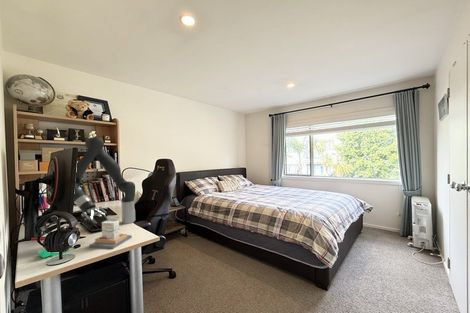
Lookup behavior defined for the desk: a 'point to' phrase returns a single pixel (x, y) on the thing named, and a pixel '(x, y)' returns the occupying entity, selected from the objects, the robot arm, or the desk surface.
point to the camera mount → (46, 253)
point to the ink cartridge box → (110, 228)
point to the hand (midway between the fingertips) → (101, 222)
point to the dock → (110, 242)
